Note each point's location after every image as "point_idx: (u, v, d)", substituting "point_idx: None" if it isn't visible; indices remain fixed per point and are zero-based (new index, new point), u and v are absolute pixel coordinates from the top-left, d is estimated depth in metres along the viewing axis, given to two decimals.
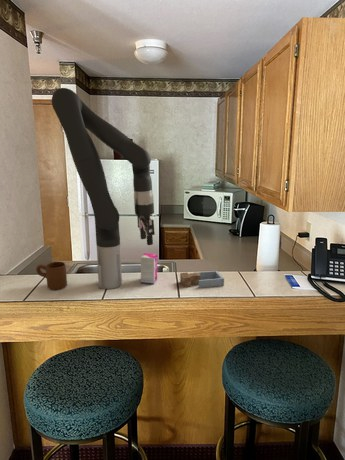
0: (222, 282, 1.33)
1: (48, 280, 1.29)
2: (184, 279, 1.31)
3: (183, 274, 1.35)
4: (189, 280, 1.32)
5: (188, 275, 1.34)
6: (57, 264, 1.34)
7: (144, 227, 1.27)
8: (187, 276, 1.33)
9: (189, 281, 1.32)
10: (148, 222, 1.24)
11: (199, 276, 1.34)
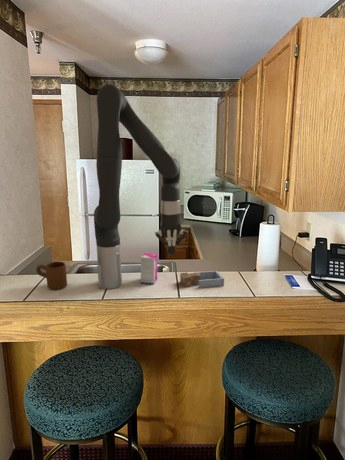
0: (222, 282, 1.33)
1: (48, 280, 1.29)
2: (184, 279, 1.31)
3: (183, 274, 1.35)
4: (189, 280, 1.32)
5: (188, 275, 1.34)
6: (57, 264, 1.34)
7: None
8: (187, 276, 1.33)
9: (189, 281, 1.32)
10: None
11: (199, 276, 1.34)
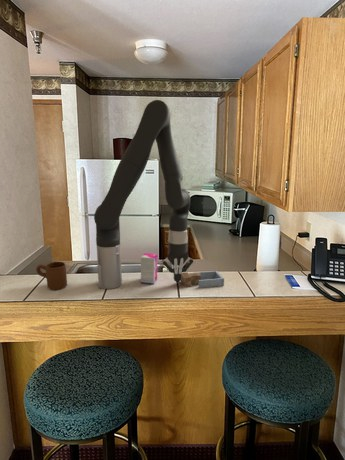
0: (222, 282, 1.33)
1: (48, 280, 1.29)
2: (184, 279, 1.32)
3: (183, 274, 1.35)
4: (189, 280, 1.32)
5: (188, 275, 1.34)
6: (57, 264, 1.34)
7: (182, 266, 1.31)
8: (187, 276, 1.33)
9: (189, 281, 1.32)
10: None
11: (199, 276, 1.34)
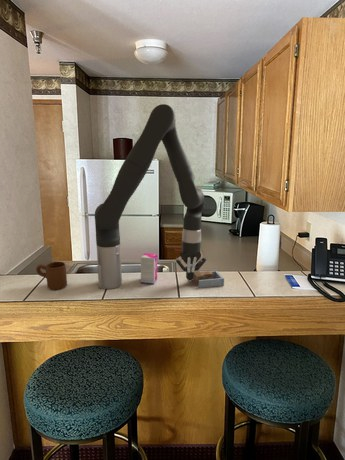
0: (222, 282, 1.33)
1: (48, 280, 1.29)
2: (197, 277, 1.33)
3: (195, 272, 1.36)
4: (202, 278, 1.34)
5: (201, 273, 1.35)
6: (57, 264, 1.34)
7: (195, 264, 1.32)
8: (200, 274, 1.34)
9: (202, 279, 1.34)
10: None
11: (211, 274, 1.36)
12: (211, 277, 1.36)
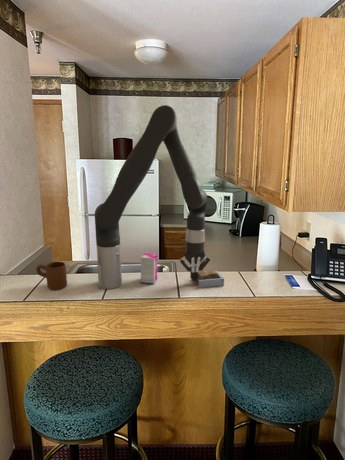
0: (222, 282, 1.33)
1: (48, 280, 1.29)
2: (202, 277, 1.33)
3: (200, 272, 1.37)
4: (206, 278, 1.34)
5: (205, 273, 1.36)
6: (57, 264, 1.34)
7: (199, 264, 1.33)
8: (204, 274, 1.35)
9: None
10: None
11: (216, 274, 1.36)
12: (215, 277, 1.36)
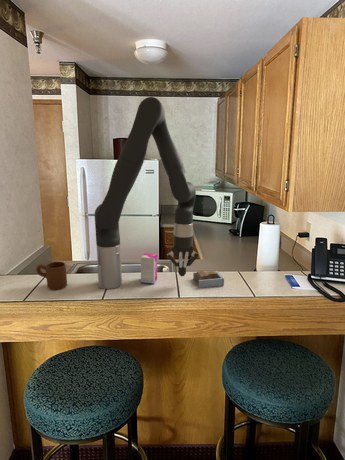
0: (222, 282, 1.33)
1: (48, 280, 1.29)
2: (202, 277, 1.33)
3: (200, 272, 1.37)
4: (207, 278, 1.34)
5: (205, 273, 1.36)
6: (57, 264, 1.34)
7: (187, 259, 1.30)
8: (204, 274, 1.35)
9: None
10: None
11: (216, 274, 1.36)
12: (215, 277, 1.36)
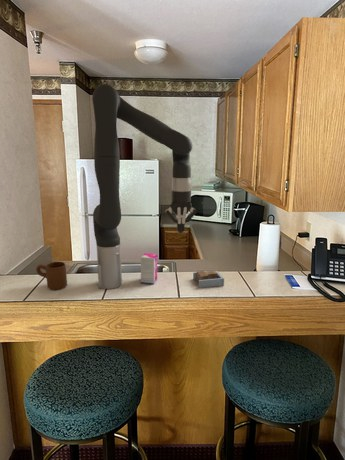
0: (222, 282, 1.33)
1: (48, 280, 1.29)
2: (202, 277, 1.33)
3: (200, 272, 1.37)
4: (207, 278, 1.34)
5: (205, 273, 1.36)
6: (57, 264, 1.34)
7: (185, 215, 1.30)
8: (204, 274, 1.35)
9: None
10: None
11: (216, 274, 1.36)
12: (215, 277, 1.36)
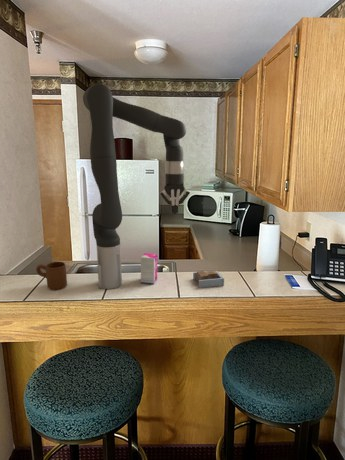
0: (222, 282, 1.33)
1: (48, 280, 1.29)
2: (202, 277, 1.33)
3: (200, 272, 1.37)
4: (207, 278, 1.34)
5: (205, 273, 1.36)
6: (57, 264, 1.34)
7: None
8: (204, 274, 1.35)
9: None
10: None
11: (216, 274, 1.36)
12: (215, 277, 1.36)
